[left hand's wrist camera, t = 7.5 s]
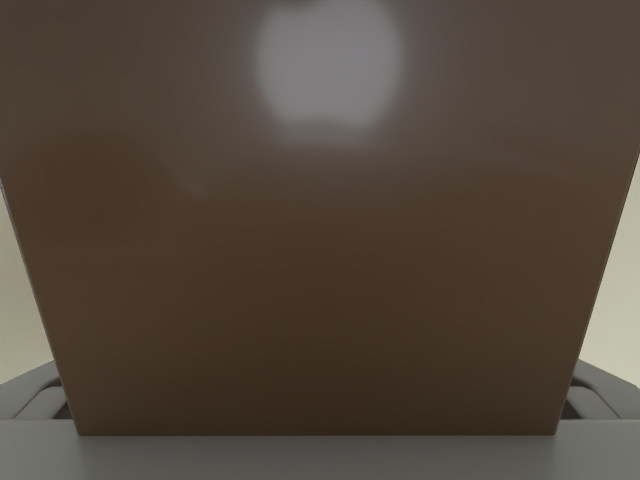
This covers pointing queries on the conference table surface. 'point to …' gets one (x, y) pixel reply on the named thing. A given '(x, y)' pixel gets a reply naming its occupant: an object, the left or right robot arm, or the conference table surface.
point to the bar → (317, 207)
